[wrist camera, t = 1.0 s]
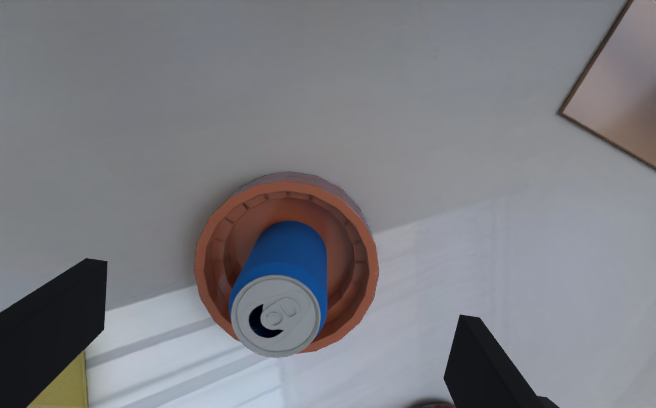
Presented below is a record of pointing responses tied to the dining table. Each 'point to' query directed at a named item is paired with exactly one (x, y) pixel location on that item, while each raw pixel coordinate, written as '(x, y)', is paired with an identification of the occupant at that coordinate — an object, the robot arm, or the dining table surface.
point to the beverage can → (281, 291)
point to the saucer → (66, 388)
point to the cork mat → (622, 85)
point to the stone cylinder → (439, 406)
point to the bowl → (291, 205)
